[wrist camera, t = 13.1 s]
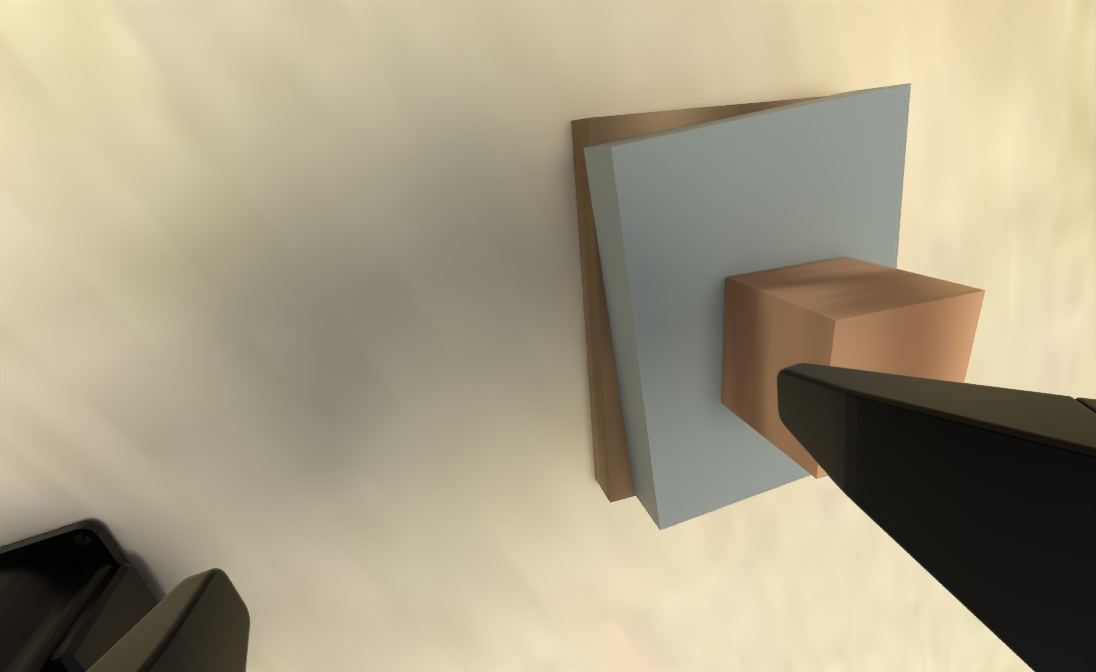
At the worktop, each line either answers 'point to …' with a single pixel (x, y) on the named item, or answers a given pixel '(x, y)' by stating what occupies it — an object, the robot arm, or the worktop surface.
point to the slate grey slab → (728, 268)
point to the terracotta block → (838, 332)
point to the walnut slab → (600, 353)
